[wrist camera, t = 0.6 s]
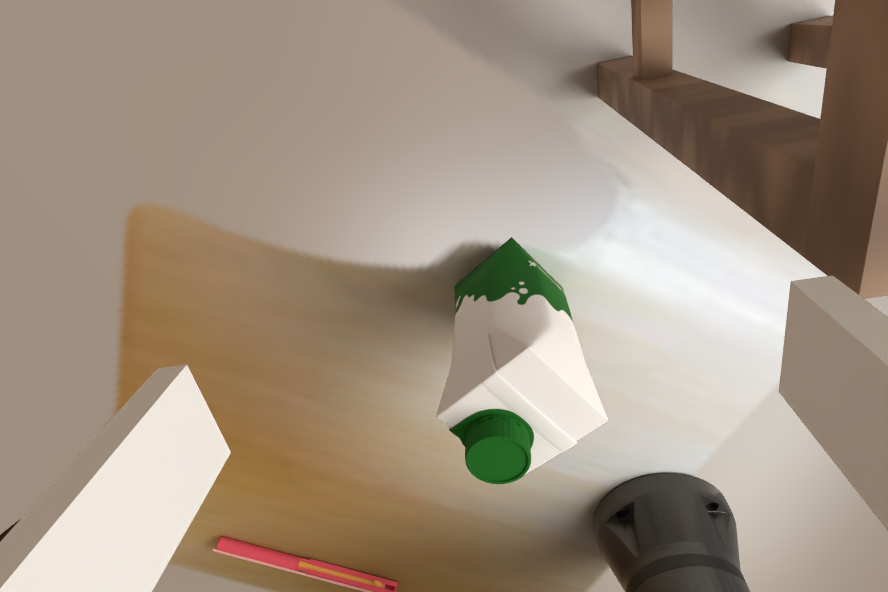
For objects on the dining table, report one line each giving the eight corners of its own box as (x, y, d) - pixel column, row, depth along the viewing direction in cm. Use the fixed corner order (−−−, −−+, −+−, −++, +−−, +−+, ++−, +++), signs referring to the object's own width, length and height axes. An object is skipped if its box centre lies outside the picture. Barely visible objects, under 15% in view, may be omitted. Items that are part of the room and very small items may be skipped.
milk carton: (440, 286, 50) (418, 440, 32) (513, 221, 46) (534, 354, 29) (504, 344, 52) (517, 516, 35) (578, 287, 49) (634, 445, 31)
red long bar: (393, 586, 74) (401, 578, 70) (389, 604, 72) (397, 596, 69) (220, 540, 71) (220, 529, 68) (213, 557, 69) (212, 546, 66)
